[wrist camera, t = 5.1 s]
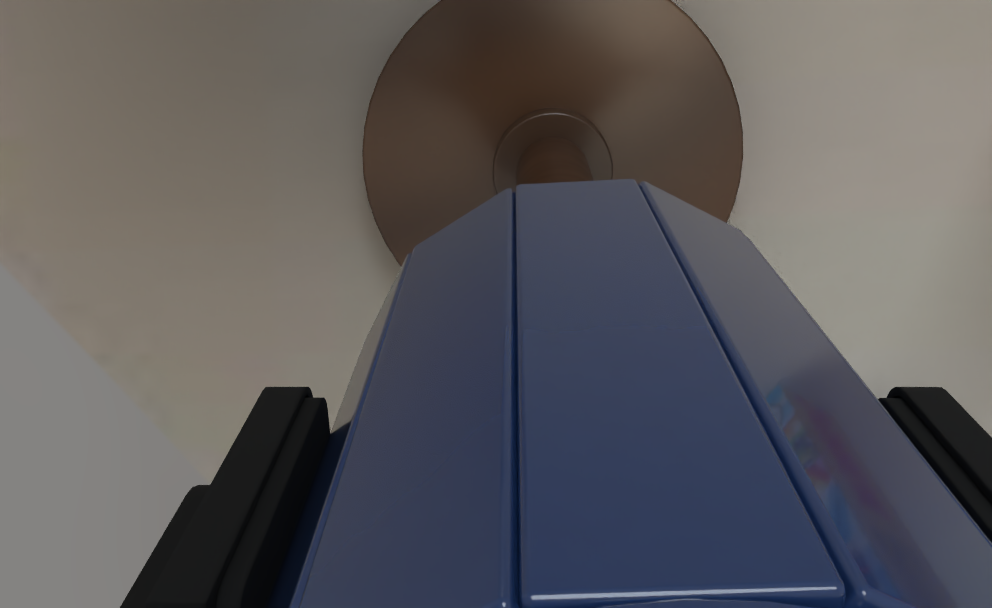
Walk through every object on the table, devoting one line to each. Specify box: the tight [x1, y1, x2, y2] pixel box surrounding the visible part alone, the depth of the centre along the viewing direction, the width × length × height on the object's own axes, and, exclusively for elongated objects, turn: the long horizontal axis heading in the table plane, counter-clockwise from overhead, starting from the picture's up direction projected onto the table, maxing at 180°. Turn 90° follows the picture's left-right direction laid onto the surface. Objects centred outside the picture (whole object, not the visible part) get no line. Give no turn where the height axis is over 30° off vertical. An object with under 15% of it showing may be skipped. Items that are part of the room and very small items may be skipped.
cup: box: [266, 179, 992, 608], centre depth 10 cm, size 7×7×9 cm
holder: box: [362, 0, 743, 266], centre depth 21 cm, size 13×13×20 cm
